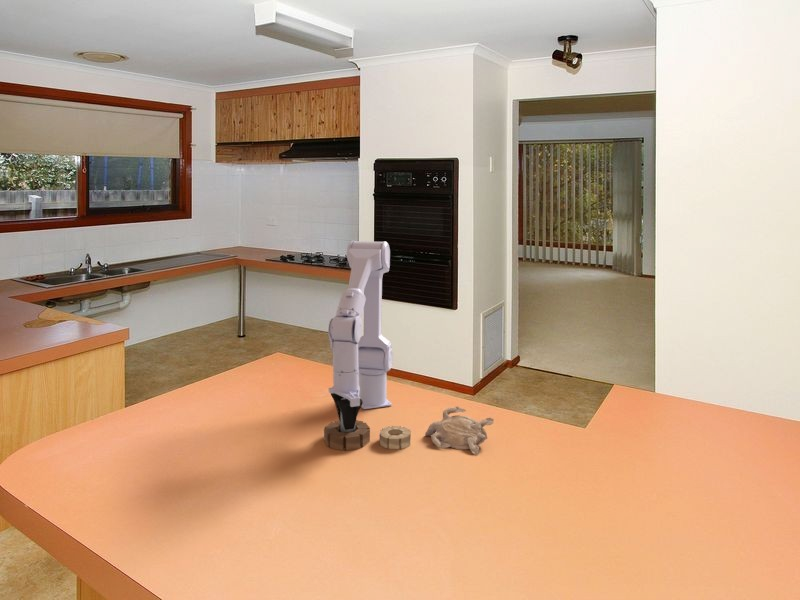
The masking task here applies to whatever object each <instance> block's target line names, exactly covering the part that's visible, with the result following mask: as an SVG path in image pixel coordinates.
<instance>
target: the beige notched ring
mask: <svg viewBox="0 0 800 600" xmlns="http://www.w3.org/2000/svg"><path fill="white" fill-rule="evenodd" d="M411 443H412V431H411V429H410V428H407V427H405V426H401V425H391V426H385V427H383V428H381V429H380V431H379V445H380V446H381V447H382V448H385V449H388V450H403V449H405V448H408V447H410V446H411Z"/></svg>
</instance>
